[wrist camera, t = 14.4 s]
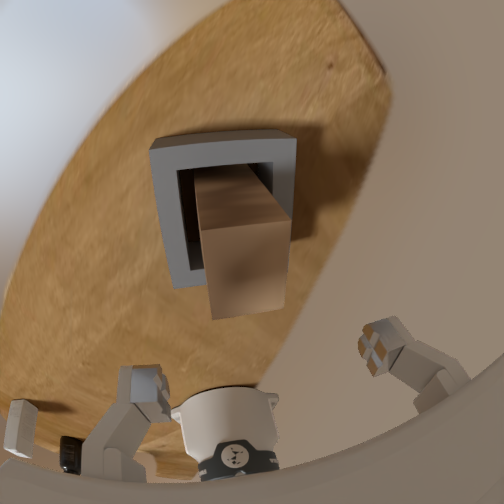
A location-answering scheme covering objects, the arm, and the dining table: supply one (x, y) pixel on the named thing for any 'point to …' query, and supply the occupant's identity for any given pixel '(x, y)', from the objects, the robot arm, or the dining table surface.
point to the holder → (204, 155)
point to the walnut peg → (241, 241)
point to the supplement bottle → (70, 455)
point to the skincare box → (21, 428)
